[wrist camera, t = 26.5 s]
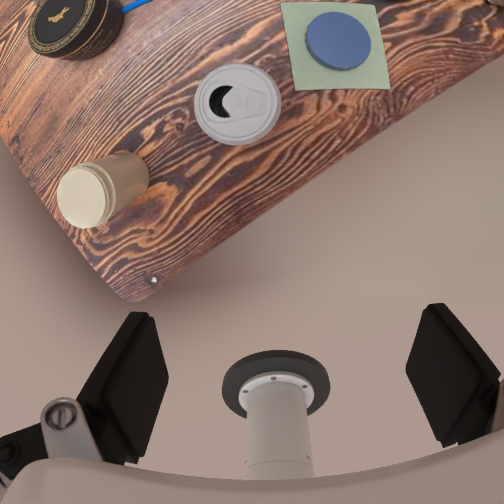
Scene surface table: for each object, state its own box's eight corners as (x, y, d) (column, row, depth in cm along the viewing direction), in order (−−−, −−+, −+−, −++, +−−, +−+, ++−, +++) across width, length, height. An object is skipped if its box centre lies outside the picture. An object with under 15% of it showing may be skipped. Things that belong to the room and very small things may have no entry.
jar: (141, 25, 25) (113, 5, 18) (79, 79, 28) (42, 74, 21) (107, -18, 22) (79, -38, 15) (52, 34, 24) (16, 24, 17)
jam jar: (154, 197, 34) (115, 226, 24) (110, 206, 34) (64, 236, 25) (144, 146, 31) (99, 157, 22) (99, 158, 32) (48, 174, 22)
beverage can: (216, 81, 28) (192, 58, 17) (277, 85, 28) (286, 62, 17) (212, 138, 31) (186, 144, 20) (272, 141, 31) (278, 150, 20)
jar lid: (305, 12, 24) (307, 6, 23) (366, 22, 24) (371, 18, 22) (303, 66, 27) (306, 63, 25) (366, 76, 27) (371, 74, 25)
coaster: (389, 89, 28) (390, 89, 27) (294, 91, 28) (295, 90, 28) (373, 6, 23) (374, 5, 23) (279, 4, 24) (280, 2, 24)
